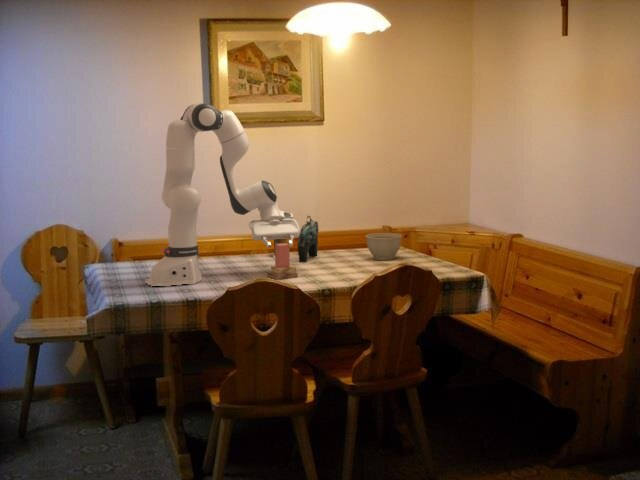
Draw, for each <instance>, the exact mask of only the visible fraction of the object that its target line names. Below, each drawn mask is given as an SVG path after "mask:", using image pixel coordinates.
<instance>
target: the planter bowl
mask: <svg viewBox="0 0 640 480" xmlns="http://www.w3.org/2000/svg"><path fill="white" fill-rule="evenodd" d="M365 239H366V244H367V245H366V246H367V249H368V250H369V253H370V254H371V255H372V257H373V259H374V260H376V261H391V260H394V259H395V258H396V257H395V256H396V255H397V254H398V252H399V250H400V247H401V244H402V242H401V241H402V234H400V233H395V232H394V233H393V232H378V233H377V232H376V233H369V234H366V235H365Z"/></svg>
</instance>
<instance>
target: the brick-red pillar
mask: <svg viewBox="0 0 640 480" xmlns="http://www.w3.org/2000/svg"><path fill="white" fill-rule="evenodd" d="M274 263H275V264H274V266H277V267H279V268H281V267H289V265H290V246H289V245H288V243H287V244H286V243H282V244H275V258H274Z"/></svg>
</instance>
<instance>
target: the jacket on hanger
mask: <svg viewBox="0 0 640 480" xmlns="http://www.w3.org/2000/svg"><path fill="white" fill-rule="evenodd" d="M311 217H312V216H310V215H307V216H306V219H307V220H308V219H309V220H308V221H307V220H306V221H305V223H304V224H303V225H302V226H301V228H300V235H299V237H298V238H297V252H298V253H297V254H298V261H299V263H307V262H308V257H309V258H317V257H318V244H319V242H318V241H319V239H318V238H319V235H318V234H319V224H318V221H317V220H313V219H312V218H311Z"/></svg>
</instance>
